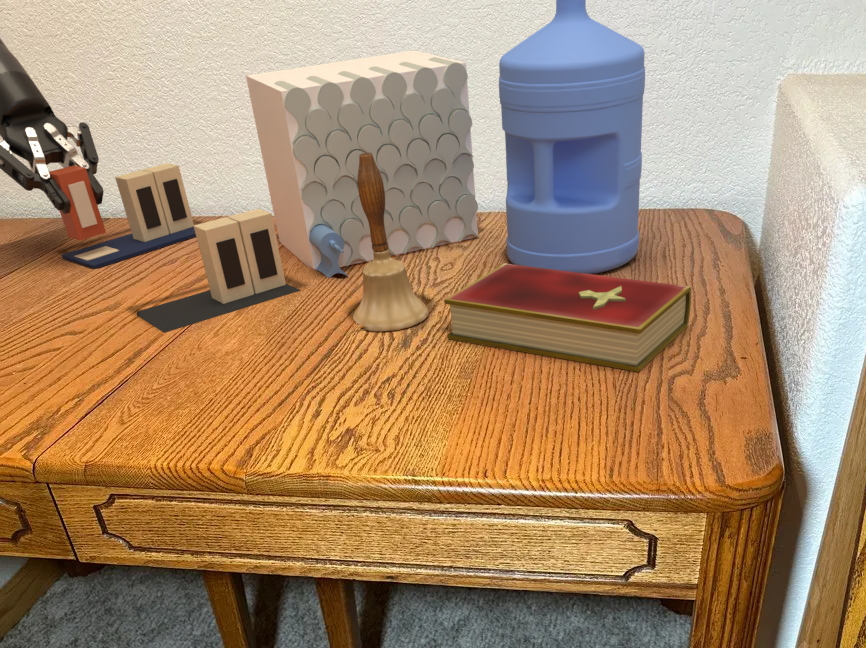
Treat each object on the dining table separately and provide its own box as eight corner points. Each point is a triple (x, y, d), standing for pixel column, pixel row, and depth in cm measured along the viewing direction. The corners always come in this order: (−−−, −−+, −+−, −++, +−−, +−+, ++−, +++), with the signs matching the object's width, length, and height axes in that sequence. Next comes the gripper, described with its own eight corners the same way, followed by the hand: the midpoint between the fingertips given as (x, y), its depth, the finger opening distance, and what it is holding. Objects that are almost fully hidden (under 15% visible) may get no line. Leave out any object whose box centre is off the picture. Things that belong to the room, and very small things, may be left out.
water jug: (547, 232, 117) (541, -37, 99) (659, 244, 110) (675, -43, 92) (482, 270, 108) (463, -21, 90) (601, 286, 100) (606, -26, 83)
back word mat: (94, 269, 119) (71, 199, 114) (62, 258, 124) (38, 191, 119) (209, 232, 129) (192, 166, 123) (174, 223, 134) (157, 160, 128)
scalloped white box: (336, 291, 106) (303, 99, 93) (279, 241, 123) (245, 73, 110) (506, 252, 112) (497, 68, 100) (430, 210, 129) (414, 48, 117)
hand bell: (372, 338, 94) (346, 168, 83) (340, 316, 99) (312, 154, 89) (442, 318, 96) (426, 152, 86) (407, 297, 102) (388, 139, 92)
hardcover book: (508, 299, 100) (505, 259, 97) (689, 325, 90) (692, 282, 87) (447, 338, 92) (443, 296, 89) (638, 371, 83) (640, 326, 80)
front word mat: (165, 337, 98) (141, 255, 93) (134, 316, 104) (109, 239, 99) (301, 294, 106) (286, 216, 100) (265, 277, 111) (249, 203, 106)
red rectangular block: (80, 241, 120) (57, 175, 115) (68, 237, 122) (46, 172, 117) (107, 233, 122) (86, 167, 117) (95, 229, 124) (74, 165, 119)
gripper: (-50, 79, 110) (34, 199, 111) (58, 60, 118) (136, 172, 119) (-48, 125, 117) (31, 238, 118) (54, 103, 124) (128, 210, 125)
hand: (83, 204), depth 118 cm, fingers closed on red rectangular block, 4 cm apart
